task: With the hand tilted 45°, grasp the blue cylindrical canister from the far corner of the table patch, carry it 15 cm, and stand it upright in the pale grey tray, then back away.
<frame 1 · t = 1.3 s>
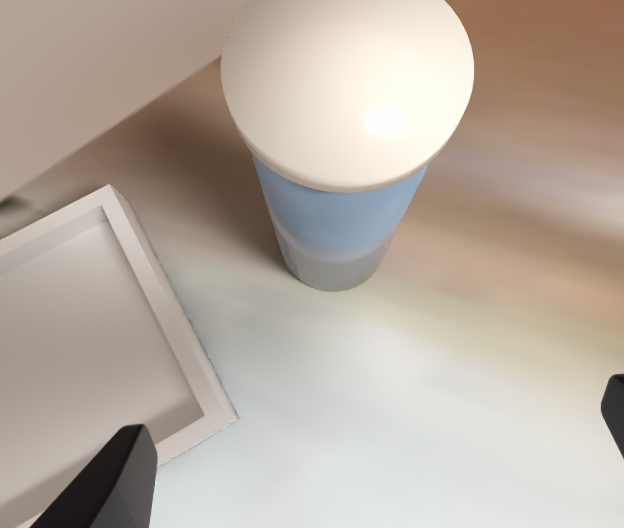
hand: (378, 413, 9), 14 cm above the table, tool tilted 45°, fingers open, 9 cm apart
blue cylindrical canister: (332, 239, 24), on the table
tray: (64, 368, 23), on the table
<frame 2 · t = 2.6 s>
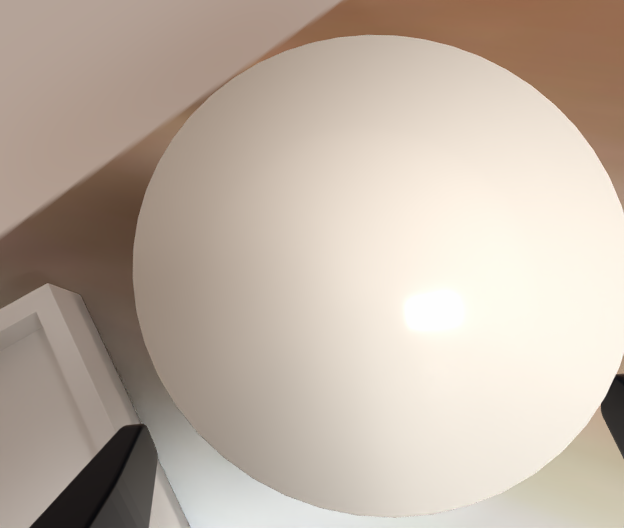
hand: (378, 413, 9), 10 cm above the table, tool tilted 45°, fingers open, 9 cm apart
blue cylindrical canister: (339, 342, 19), on the table
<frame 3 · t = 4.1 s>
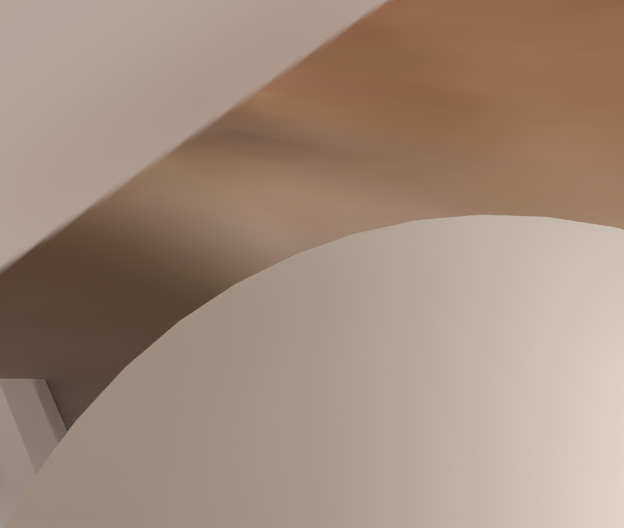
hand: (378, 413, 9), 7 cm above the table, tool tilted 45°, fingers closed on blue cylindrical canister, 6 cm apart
blue cylindrical canister: (359, 443, 15), on the table, touching gripper
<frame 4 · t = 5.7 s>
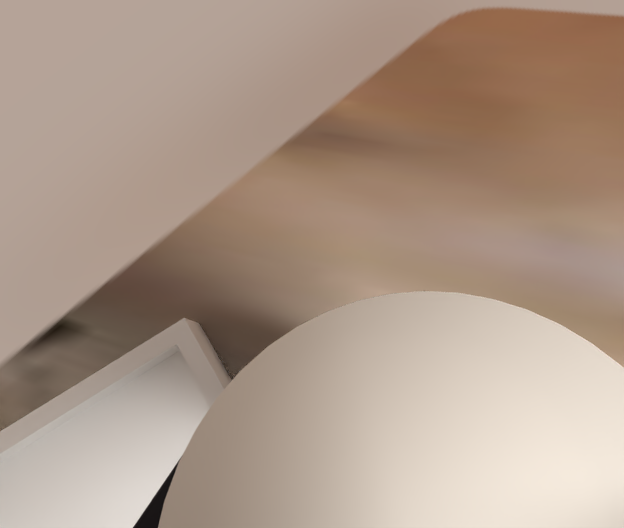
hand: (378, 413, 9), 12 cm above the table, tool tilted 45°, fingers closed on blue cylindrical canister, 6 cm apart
blue cylindrical canister: (355, 430, 18), point 3 cm above the table, touching gripper
when the fingers open (9 cm above the table, at t = 7.7 s): blue cylindrical canister stays where it is, resting on tray.
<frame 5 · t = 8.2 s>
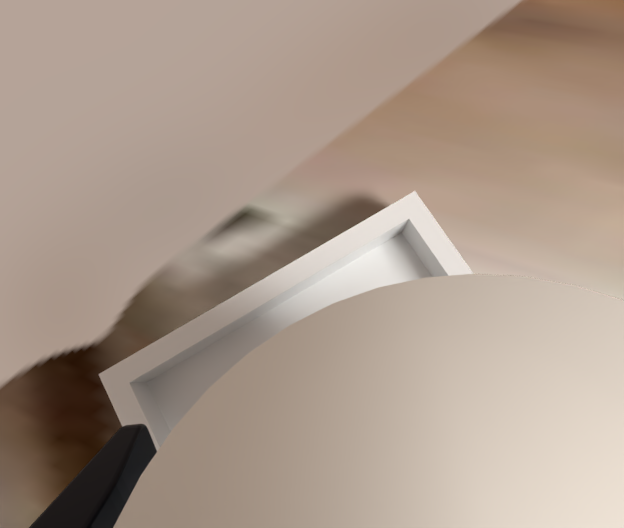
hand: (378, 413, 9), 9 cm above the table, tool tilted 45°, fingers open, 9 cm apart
blue cylindrical canister: (359, 442, 16), point 1 cm above the table, touching tray
tray: (355, 436, 17), on the table
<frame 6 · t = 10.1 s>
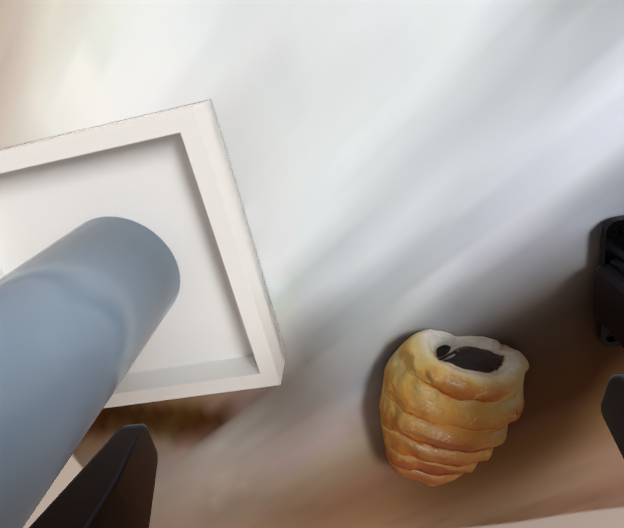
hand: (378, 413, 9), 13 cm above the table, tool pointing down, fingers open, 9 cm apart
pastry: (442, 385, 25), on the table
blue cylindrical canister: (122, 272, 22), point 1 cm above the table, touching tray
tray: (127, 265, 22), on the table
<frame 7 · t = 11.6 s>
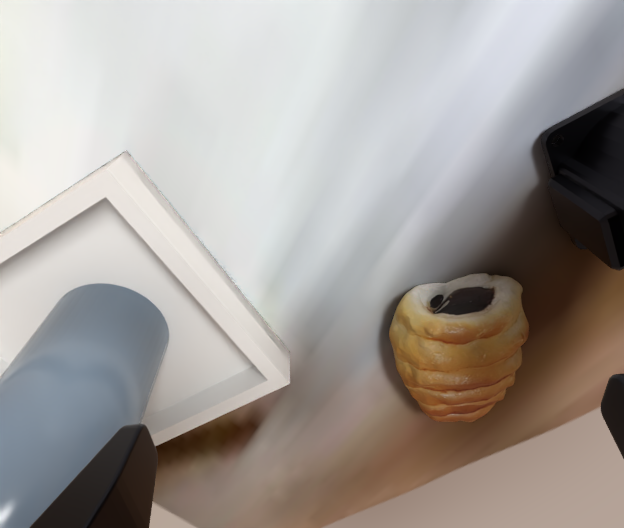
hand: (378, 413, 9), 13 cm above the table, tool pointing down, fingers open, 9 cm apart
pastry: (451, 329, 25), on the table
blue cylindrical canister: (111, 331, 23), point 1 cm above the table, touching tray
tray: (115, 322, 23), on the table
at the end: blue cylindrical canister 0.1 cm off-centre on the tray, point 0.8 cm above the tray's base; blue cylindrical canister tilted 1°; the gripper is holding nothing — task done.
